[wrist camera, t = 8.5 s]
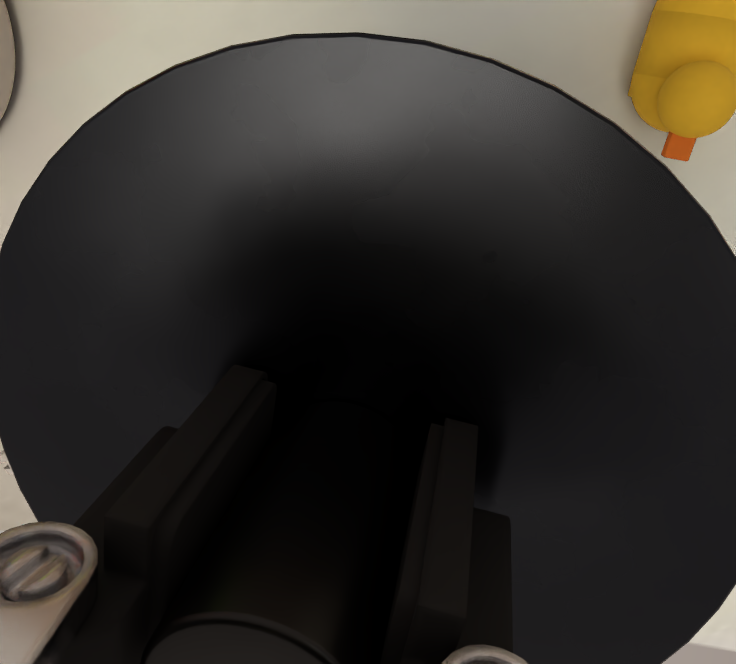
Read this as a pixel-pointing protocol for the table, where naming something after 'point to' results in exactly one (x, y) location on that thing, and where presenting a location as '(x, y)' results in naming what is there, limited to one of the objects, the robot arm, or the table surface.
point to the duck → (687, 71)
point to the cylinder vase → (6, 58)
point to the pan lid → (384, 342)
